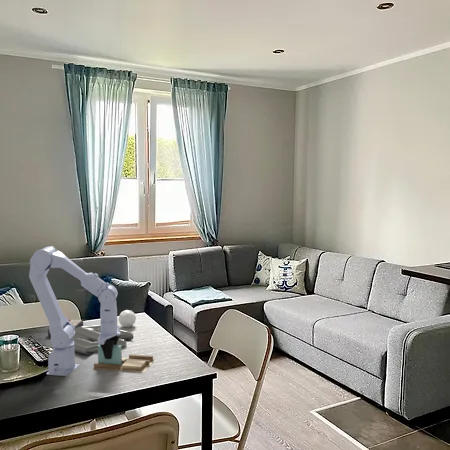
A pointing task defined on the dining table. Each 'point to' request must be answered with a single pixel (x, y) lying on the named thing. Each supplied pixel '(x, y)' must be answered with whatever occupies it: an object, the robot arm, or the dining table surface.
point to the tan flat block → (133, 368)
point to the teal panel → (115, 354)
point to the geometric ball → (127, 318)
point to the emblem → (94, 339)
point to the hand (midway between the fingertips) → (109, 357)
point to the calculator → (74, 322)
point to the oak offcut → (133, 364)
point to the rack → (118, 366)
